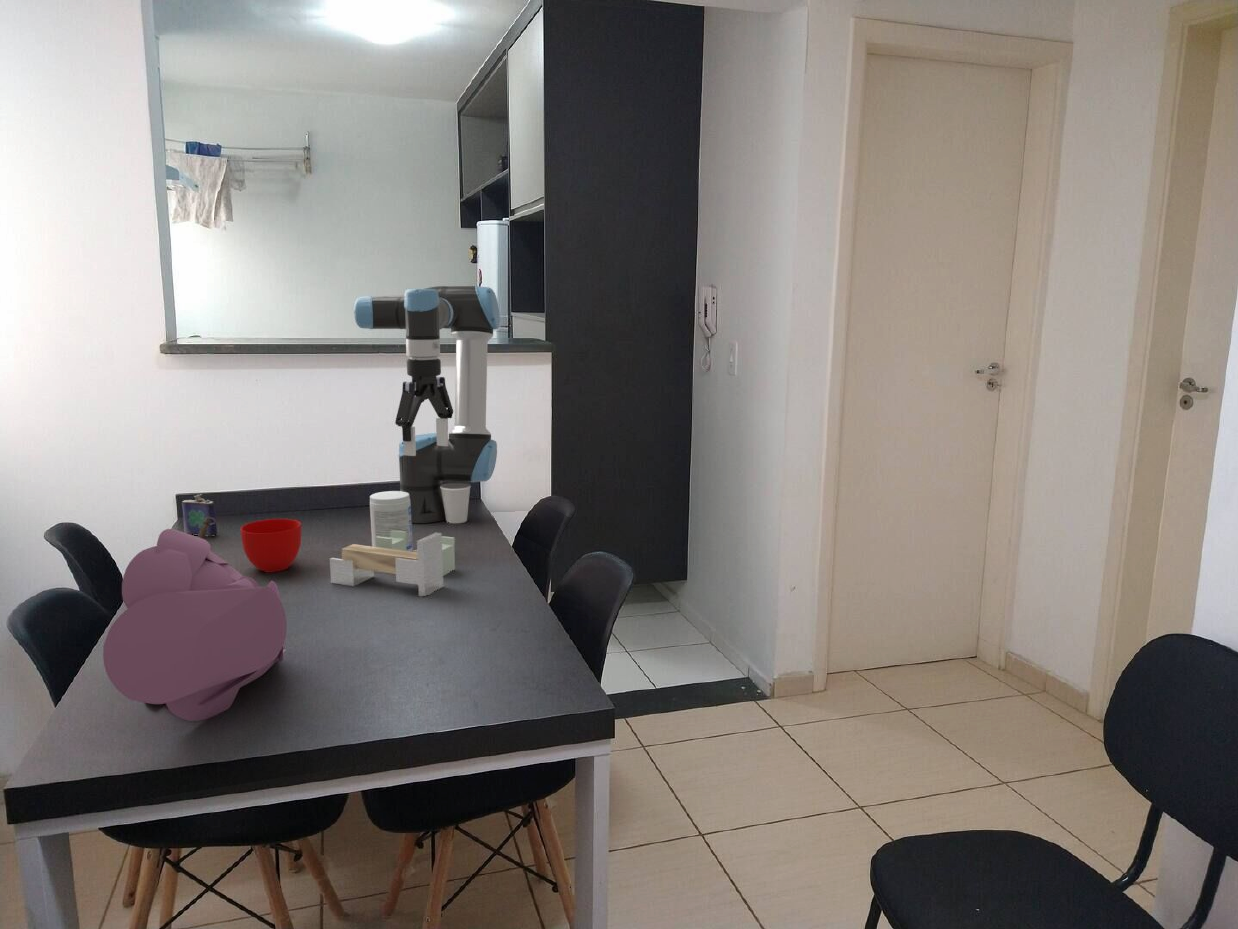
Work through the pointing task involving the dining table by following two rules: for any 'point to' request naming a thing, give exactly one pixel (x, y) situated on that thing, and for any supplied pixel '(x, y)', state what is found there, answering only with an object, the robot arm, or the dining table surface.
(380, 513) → the supplement tub
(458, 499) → the dixie cup
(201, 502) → the flask
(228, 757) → the dining table surface
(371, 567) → the rail
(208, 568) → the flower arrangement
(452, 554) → the rack
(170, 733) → the dining table surface
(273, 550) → the ceramic cup
